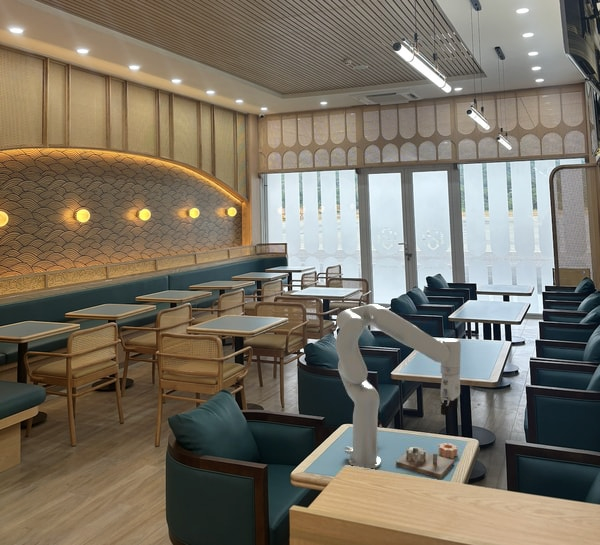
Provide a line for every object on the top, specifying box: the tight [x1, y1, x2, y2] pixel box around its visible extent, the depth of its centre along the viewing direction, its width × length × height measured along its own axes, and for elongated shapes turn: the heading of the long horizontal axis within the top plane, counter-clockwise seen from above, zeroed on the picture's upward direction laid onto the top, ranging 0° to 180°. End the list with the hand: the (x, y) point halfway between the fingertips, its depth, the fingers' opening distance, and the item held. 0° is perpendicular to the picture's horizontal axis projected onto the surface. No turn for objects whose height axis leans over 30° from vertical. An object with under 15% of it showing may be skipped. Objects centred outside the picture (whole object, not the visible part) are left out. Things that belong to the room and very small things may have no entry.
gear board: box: [395, 446, 455, 479], centre depth 203 cm, size 18×14×6 cm
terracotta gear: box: [438, 442, 458, 459], centre depth 213 cm, size 7×7×3 cm
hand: (449, 411), depth 211 cm, fingers open, 9 cm apart
